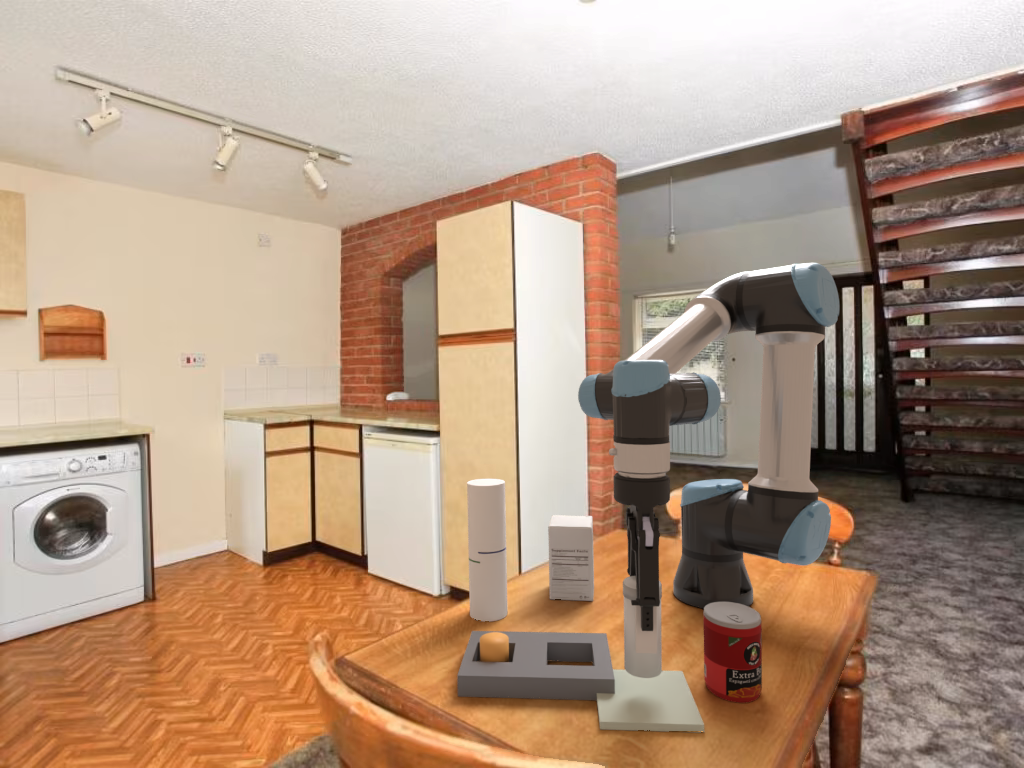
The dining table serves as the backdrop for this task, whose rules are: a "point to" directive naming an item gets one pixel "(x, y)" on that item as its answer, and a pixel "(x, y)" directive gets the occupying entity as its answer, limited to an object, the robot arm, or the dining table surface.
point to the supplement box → (571, 558)
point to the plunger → (494, 647)
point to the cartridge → (634, 662)
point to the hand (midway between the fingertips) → (642, 641)
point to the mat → (649, 704)
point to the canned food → (732, 651)
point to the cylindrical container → (487, 549)
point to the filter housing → (539, 667)
